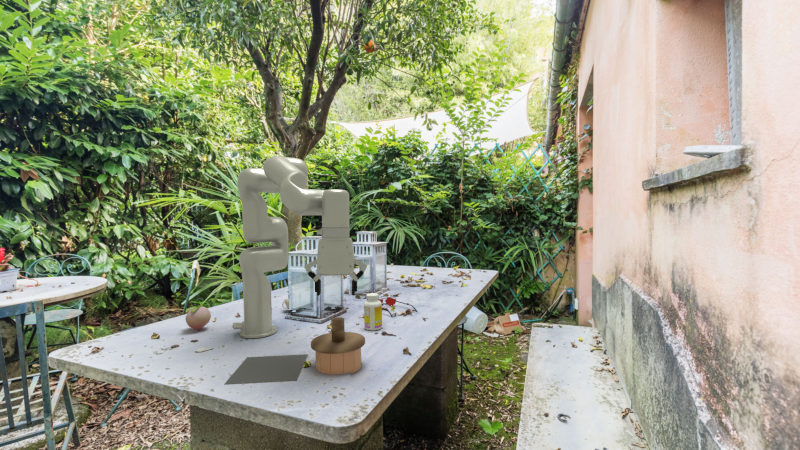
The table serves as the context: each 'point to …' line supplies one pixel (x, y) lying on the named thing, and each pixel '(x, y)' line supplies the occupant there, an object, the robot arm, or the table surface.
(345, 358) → the bowl
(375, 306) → the supplement bottle
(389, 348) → the table surface
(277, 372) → the mat
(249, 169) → the robot arm
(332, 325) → the lid
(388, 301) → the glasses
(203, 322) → the decorative fruit
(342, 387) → the table surface
